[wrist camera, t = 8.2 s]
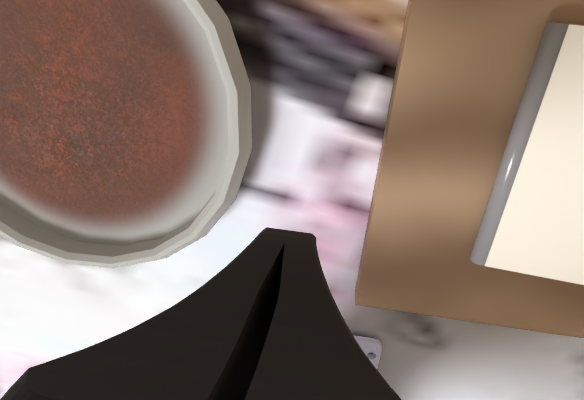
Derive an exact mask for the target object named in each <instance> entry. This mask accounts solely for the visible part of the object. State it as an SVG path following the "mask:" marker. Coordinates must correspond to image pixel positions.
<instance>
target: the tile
mask: <svg viewBox="0 0 584 400" xmlns="http://www.w3.org/2000/svg"><path fill="white" fill-rule="evenodd" d="M470 260H471V261H472V262H473V263H475V264H477V265H485V266H487V267H492V268H497V269H503V270H508V271H513V272H518V273H523V274H529V275H534V276H539V277H544V278H550V279H555V280H560V281H565V282H570V283H576V284H581V285H584V25H582V24H571V23H560V22H549V21H546V24H545V27H544V31H543V34H542V37H541V40H540V43H539V46H538V49H537V52H536V55H535V58H534V61H533V64H532V67H531V70H530V73H529V77H528V80H527V83H526V86H525V89H524V92H523V95H522V98H521V101H520V104H519V107H518V110H517V113H516V116H515V119H514V123H513V126H512V129H511V132H510V135H509V138H508V141H507V144H506V147H505V150H504V153H503V156H502V159H501V162H500V165H499V168H498V172H497V175H496V178H495V181H494V184H493V187H492V190H491V193H490V196H489V199H488V202H487V205H486V208H485V211H484V214H483V218H482V221H481V224H480V227H479V230H478V233H477V236H476V239H475V242H474V245H473V248H472V251H471V254H470Z"/></svg>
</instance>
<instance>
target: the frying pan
mask: <svg viewBox="0 0 584 400" xmlns="http://www.w3.org/2000/svg"><path fill="white" fill-rule="evenodd" d="M251 151H252V106H251V85H250V82H249V79H248V76H247V73H246V70H245V67H244V63H243V60H242V57H241V54H240V51H239V48H238V45H237V42H236V39H235V36H234V33H233V30H232V27H231V24H230V21H229V18H228V17H227V15H226V14H225V12H224V11H223V9H222V8H221V7H220V5H219V4H218V2H217V1H216V0H0V235H2V236H3V237H5V238H6V239H8V240H10V241H11V242H13V243H14V244H16V245H17V246H19V247H22V248H25V249H28V250H31V251H33V252H36V253H39V254H42V255H44V256H47V257H50V258H53V259H55V260H58V261H61V262H64V263H67V264H77V265H87V266H96V267H106V268H117V267H122V266H128V265H133V264H138V263H144V262H149V261H155V260H159V259H163V258H167V257H169V256H171V255H172V254H174V253H176V252H178V251H179V250H181V249H183V248H185V247H186V246H188V245H190V244H192V243H193V242H195V241H197V240H199V239H200V238H202V237H204V236H206V235H207V233H208V232H209V231H210V230H211V229H212V227H213V226H214V225H215V224H216V222H217V221H218V220H219V219H220V217H221V216H222V215H223V214H224V213H225V211H226V210H227V209H228V208H229V206H230V205H231V204H232V203H233V202H234V200H235V199H236V196H237V193H238V190H239V187H240V184H241V181H242V178H243V175H244V172H245V169H246V166H247V163H248V160H249V157H250V154H251Z"/></svg>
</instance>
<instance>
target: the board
mask: <svg viewBox="0 0 584 400" xmlns="http://www.w3.org/2000/svg"><path fill="white" fill-rule="evenodd" d="M546 21H549V22H560V23H571V24H582V25H584V0H409V1H408V7H407V12H406V18H405V23H404V29H403V34H402V39H401V45H400V50H399V56H398V61H397V66H396V72H395V77H394V83H393V88H392V94H391V99H390V104H389V110H388V115H387V121H386V126H385V131H384V137H383V142H382V148H381V153H380V159H379V164H378V169H377V175H376V180H375V186H374V191H373V196H372V202H371V207H370V213H369V218H368V224H367V229H366V234H365V240H364V245H363V251H362V256H361V261H360V267H359V272H358V278H357V283H356V289H355V305H361V306H367V307H374V308H381V309H388V310H395V311H402V312H408V313H415V314H422V315H429V316H436V317H443V318H450V319H456V320H463V321H470V322H477V323H484V324H491V325H497V326H504V327H511V328H518V329H525V330H532V331H539V332H545V333H552V334H559V335H566V336H573V337H580V338H584V285H581V284H576V283H570V282H565V281H560V280H555V279H550V278H544V277H539V276H534V275H529V274H523V273H518V272H513V271H508V270H503V269H497V268H492V267H487V266H485V265H477V264H475V263H473V262H472V261H471V260H470V254H471V251H472V248H473V245H474V242H475V239H476V236H477V233H478V230H479V227H480V224H481V221H482V218H483V214H484V211H485V208H486V205H487V202H488V199H489V196H490V193H491V190H492V187H493V184H494V181H495V178H496V175H497V172H498V168H499V165H500V162H501V159H502V156H503V153H504V150H505V147H506V144H507V141H508V138H509V135H510V132H511V129H512V126H513V123H514V119H515V116H516V113H517V110H518V107H519V104H520V101H521V98H522V95H523V92H524V89H525V86H526V83H527V80H528V77H529V73H530V70H531V67H532V64H533V61H534V58H535V55H536V52H537V49H538V46H539V43H540V40H541V37H542V34H543V31H544V27H545V24H546Z"/></svg>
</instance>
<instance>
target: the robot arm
mask: <svg viewBox="0 0 584 400" xmlns="http://www.w3.org/2000/svg"><path fill="white" fill-rule="evenodd" d="M371 352H372V353H374V354H369V353H371ZM381 352H382V344H381V342H380V341H379V340H378V339H375V338H368V337H362V336H355V335H352V333H351V331H350V330H349V328H348V326H347V324H346V323H345V321H344V319H343V317H342V315H341V313H340V311H339V309H338V307H337V305H336V303H335V301H334V299H333V297H332V294H331V292H330V290H329V287H328V285H327V282H326V279H325V276H324V274H323V271H322V268H321V264H320V261H319V257H318V252H317V247H316V237H315V236H314V235H313V234H311V233H303V232H296V231H288V230H281V229H273V228H265V229H264V230H263V231H262V232H261V233H260V234H259V235H258V236H257V237H256V238H255V239H254V240H253V241H252V242H251V243H250V244H249V245H248V246H247V247H246V248H245V249H244V250H243V251H242V252H241V253H240V254H239V255H238V256H237V257H236V258H235V259H234V260H233V261H232V262H231V263H230V264H228V265H227V266H226V267H225V268H224V269H223V270H222V271H220V272H219V273H218V274H217V275H215V276H214V277H213V278H212V279H210V280H209V281H208V282H207V283H205V284H204V285H203V286H202V287H200V288H199V289H198V290H196V291H195V292H193V293H192V294H191V295H189V296H188V297H186V298H185V299H183V300H182V301H180V302H179V303H177V304H175V305H174V306H172V307H171V308H169V309H167V310H165V311H164V312H162V313H160V314H158V315H156V316H154V317H152V318H151V319H149V320H147V321H145V322H143V323H141V324H140V325H138V326H136V327H134V328H131V329H129V330H127V331H125V332H123V333H121V334H119V335H116V336H114V337H112V338H109V339H107V340H105V341H102V342H100V343H98V344H95V345H93V346H90V347H88V348H85V349H83V350H80V351H77V352H74V353H71V354H69V355H66V356H63V357H60V358H57V359H54V360H52V361H49V362H46V363H43V364H40V365H37V366H34V367H31V368H29V369H28V370H27V371H26V372H25V373H24V374H23V375H22V376H21V377H20V378H19V379H18V380H17V381H16V382H15V383H14V384H13V385H12V386H11V388H10V389H9V390H8V391H7V392H6V393H5V395H4V396H3V397H2V398H1V399H0V400H401V399H400V397H399V396H398V395H397V394H396V393H395V392H394V391H393V389H392V388H391V387H390V386H389V385H388V384H387V382H386V381H385V380H384V378H383V377H382V376H381V374H380V373H379V372H378V370H377V368H378V364H379V360H380V356H381Z"/></svg>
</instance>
